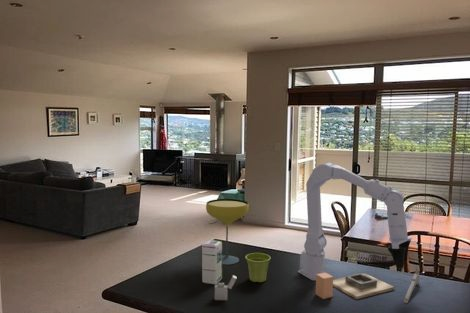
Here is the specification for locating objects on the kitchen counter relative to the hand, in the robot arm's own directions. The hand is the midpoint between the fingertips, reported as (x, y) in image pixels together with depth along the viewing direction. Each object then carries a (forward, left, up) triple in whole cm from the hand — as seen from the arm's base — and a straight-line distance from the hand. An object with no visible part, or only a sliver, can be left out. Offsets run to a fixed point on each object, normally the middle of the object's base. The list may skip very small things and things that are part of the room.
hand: (401, 263), depth 127 cm
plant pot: (-31, -39, -11) cm, 51 cm away
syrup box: (-37, -55, -11) cm, 68 cm away
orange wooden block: (-10, -25, -11) cm, 29 cm away
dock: (-10, -8, -11) cm, 17 cm away
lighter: (-22, -57, -11) cm, 62 cm away
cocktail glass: (-54, -41, -11) cm, 69 cm away
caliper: (+1, +5, -11) cm, 12 cm away
